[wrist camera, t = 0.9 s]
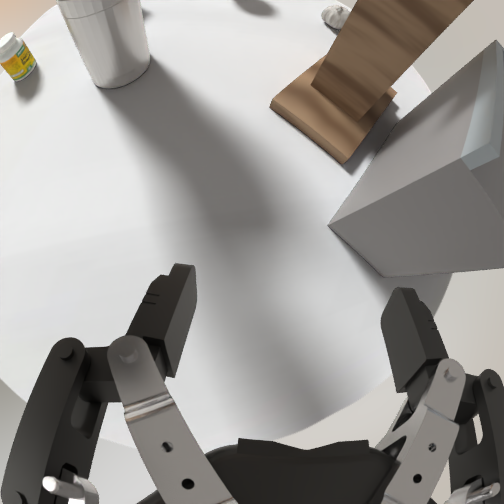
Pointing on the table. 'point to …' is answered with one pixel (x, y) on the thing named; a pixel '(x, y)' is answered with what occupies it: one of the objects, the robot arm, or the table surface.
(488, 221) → the tray stand
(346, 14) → the garlic
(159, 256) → the table surface
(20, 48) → the supplement bottle
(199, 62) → the table surface
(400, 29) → the post
